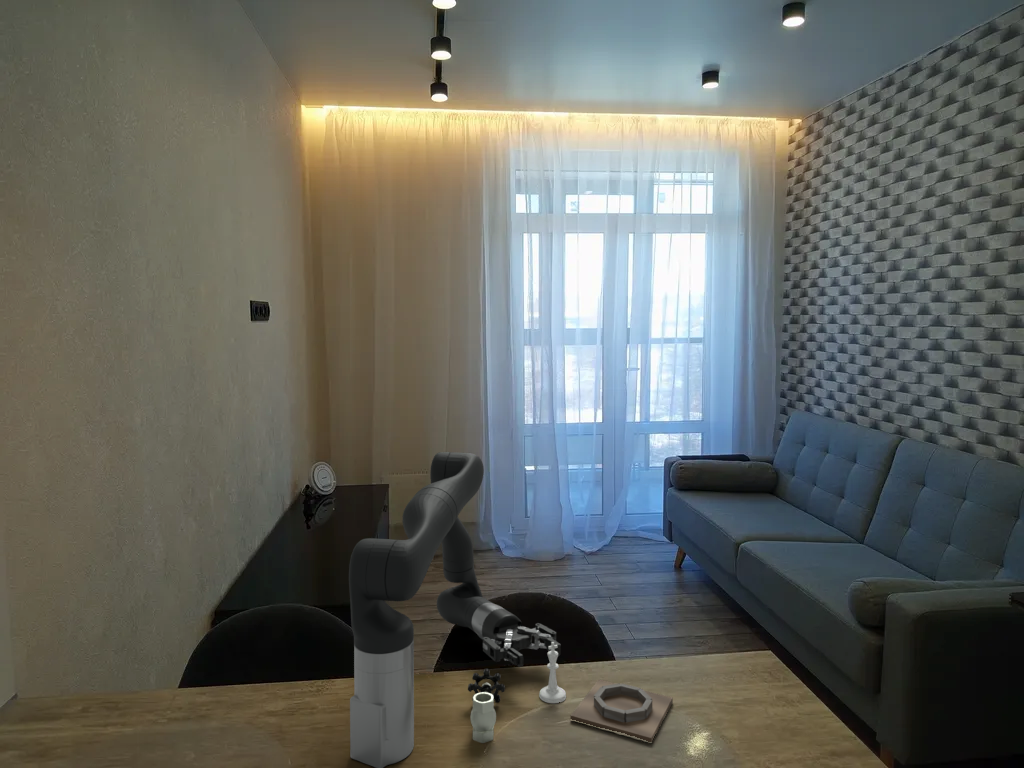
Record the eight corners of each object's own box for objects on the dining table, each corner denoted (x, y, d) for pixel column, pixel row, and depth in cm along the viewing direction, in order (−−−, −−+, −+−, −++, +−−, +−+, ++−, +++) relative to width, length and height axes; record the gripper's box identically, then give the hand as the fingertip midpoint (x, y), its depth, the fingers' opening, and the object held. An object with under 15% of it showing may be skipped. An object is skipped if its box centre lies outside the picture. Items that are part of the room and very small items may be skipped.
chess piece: (534, 692, 118) (534, 639, 118) (557, 687, 120) (558, 634, 120) (547, 705, 113) (547, 650, 113) (571, 699, 116) (571, 645, 115)
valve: (503, 745, 102) (504, 704, 114) (503, 704, 102) (505, 668, 114) (461, 744, 102) (468, 704, 114) (462, 704, 102) (468, 668, 114)
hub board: (651, 744, 102) (651, 728, 102) (570, 721, 109) (570, 706, 109) (672, 703, 114) (672, 689, 114) (598, 684, 121) (598, 671, 121)
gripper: (466, 615, 129) (508, 645, 116) (524, 601, 137) (571, 628, 123) (466, 651, 130) (508, 685, 116) (524, 636, 137) (570, 666, 124)
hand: (540, 656), depth 120 cm, fingers open, 8 cm apart
